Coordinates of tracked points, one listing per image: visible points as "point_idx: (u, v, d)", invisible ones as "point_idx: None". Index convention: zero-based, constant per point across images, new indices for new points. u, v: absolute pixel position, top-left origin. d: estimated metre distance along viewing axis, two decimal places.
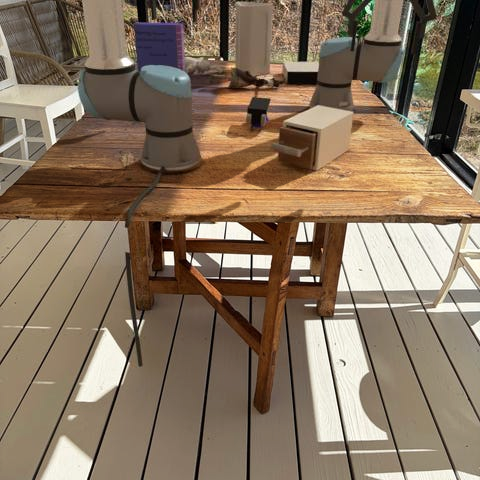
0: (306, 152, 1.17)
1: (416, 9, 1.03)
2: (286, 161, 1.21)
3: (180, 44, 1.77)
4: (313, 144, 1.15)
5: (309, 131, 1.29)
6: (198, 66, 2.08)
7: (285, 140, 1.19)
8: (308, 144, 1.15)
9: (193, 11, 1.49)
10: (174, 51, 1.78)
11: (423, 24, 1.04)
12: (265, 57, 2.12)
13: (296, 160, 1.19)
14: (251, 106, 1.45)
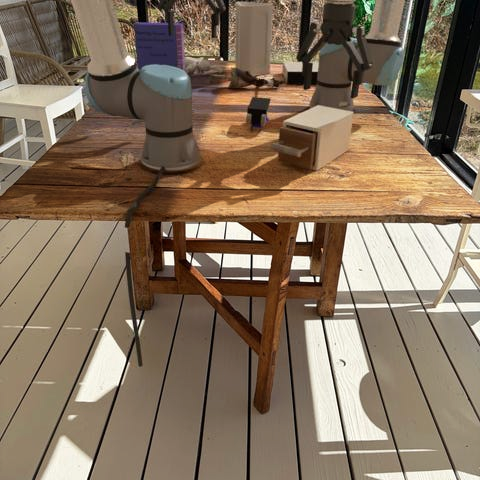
0: (306, 152, 1.17)
1: None
2: (286, 161, 1.21)
3: (180, 44, 1.77)
4: (313, 144, 1.15)
5: (309, 131, 1.29)
6: (198, 66, 2.08)
7: (285, 140, 1.19)
8: (308, 144, 1.15)
9: (212, 27, 1.40)
10: (174, 51, 1.78)
11: None
12: (265, 57, 2.12)
13: (296, 160, 1.19)
14: (251, 106, 1.45)
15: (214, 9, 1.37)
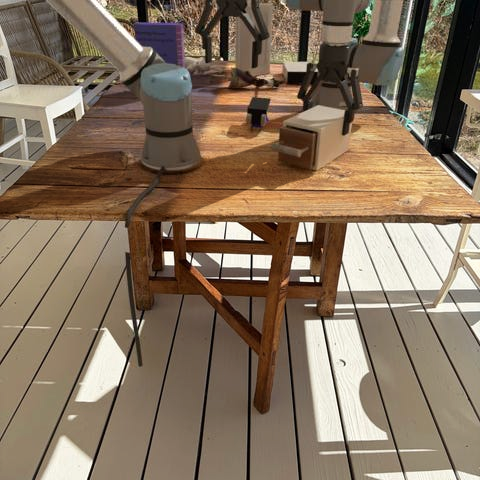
0: (306, 152, 1.17)
1: None
2: (286, 161, 1.21)
3: (180, 44, 1.77)
4: (313, 144, 1.15)
5: (309, 131, 1.29)
6: (198, 66, 2.08)
7: (285, 140, 1.19)
8: (308, 144, 1.15)
9: (253, 56, 1.24)
10: (174, 51, 1.78)
11: None
12: (265, 57, 2.12)
13: (296, 160, 1.19)
14: (251, 106, 1.45)
15: (256, 37, 1.22)
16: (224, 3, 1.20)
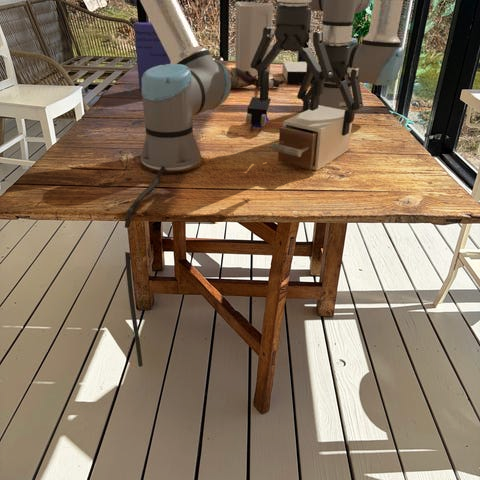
0: (306, 152, 1.17)
1: None
2: (286, 161, 1.21)
3: None
4: (313, 144, 1.15)
5: (309, 131, 1.29)
6: None
7: (285, 140, 1.19)
8: (308, 144, 1.15)
9: (312, 97, 1.07)
10: None
11: None
12: None
13: (296, 160, 1.19)
14: (251, 106, 1.45)
15: (317, 75, 1.04)
16: (282, 36, 1.04)
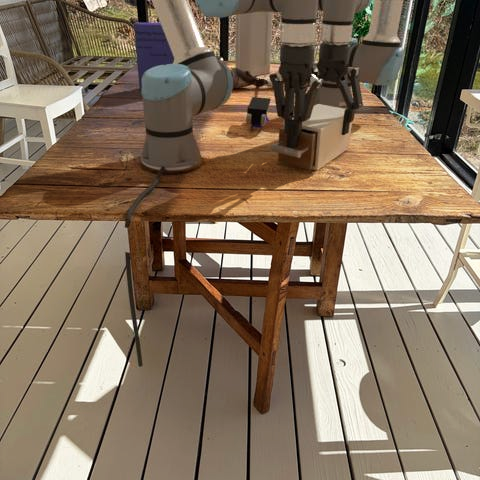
0: (306, 152, 1.17)
1: None
2: (286, 161, 1.21)
3: None
4: (313, 144, 1.15)
5: (309, 130, 1.29)
6: None
7: (285, 141, 1.19)
8: (308, 144, 1.15)
9: (291, 137, 1.13)
10: None
11: None
12: (265, 57, 2.12)
13: (296, 160, 1.19)
14: (251, 106, 1.45)
15: (296, 117, 1.10)
16: (286, 74, 1.06)
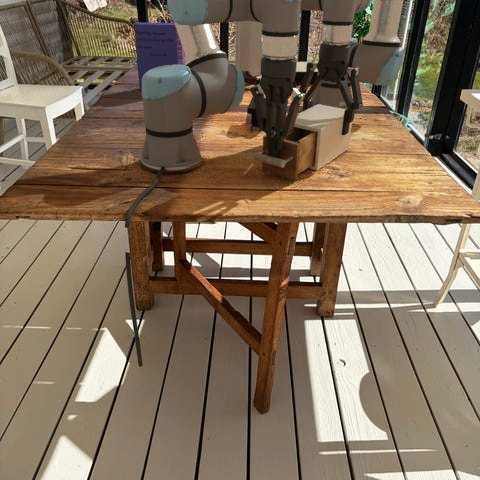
0: (291, 162, 1.12)
1: None
2: (271, 171, 1.16)
3: (180, 44, 1.77)
4: (298, 154, 1.10)
5: (295, 138, 1.24)
6: None
7: None
8: (292, 153, 1.10)
9: (272, 152, 1.09)
10: (174, 51, 1.78)
11: None
12: None
13: (281, 170, 1.14)
14: (251, 106, 1.45)
15: (277, 132, 1.06)
16: (267, 87, 1.02)
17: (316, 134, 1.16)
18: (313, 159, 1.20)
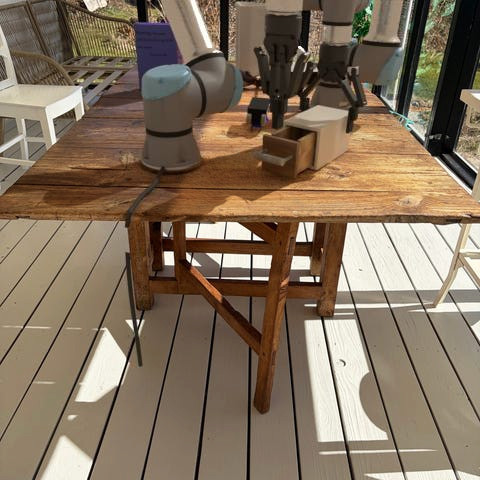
0: (290, 161, 1.12)
1: None
2: (270, 170, 1.16)
3: None
4: (297, 152, 1.10)
5: (295, 138, 1.24)
6: None
7: (269, 148, 1.14)
8: (292, 152, 1.10)
9: (276, 116, 1.05)
10: (174, 51, 1.78)
11: None
12: None
13: (280, 169, 1.14)
14: (251, 106, 1.45)
15: (281, 94, 1.03)
16: (271, 46, 0.98)
17: (316, 134, 1.17)
18: (312, 159, 1.20)
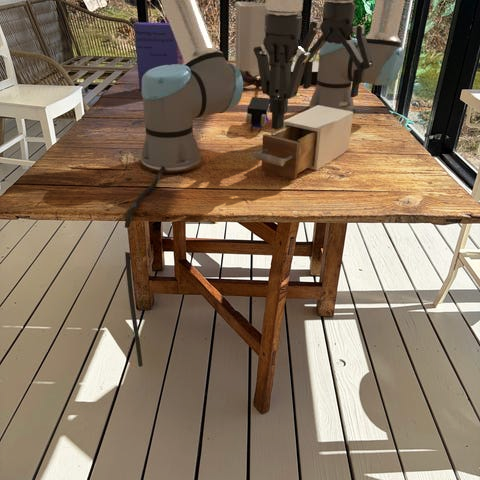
0: (290, 161, 1.12)
1: None
2: (270, 170, 1.16)
3: None
4: (297, 153, 1.10)
5: (295, 138, 1.24)
6: None
7: (269, 148, 1.14)
8: (292, 152, 1.10)
9: (276, 116, 1.05)
10: (174, 51, 1.78)
11: None
12: None
13: (280, 169, 1.14)
14: (251, 106, 1.45)
15: (281, 94, 1.03)
16: (271, 46, 0.98)
17: (316, 134, 1.17)
18: (312, 159, 1.20)
